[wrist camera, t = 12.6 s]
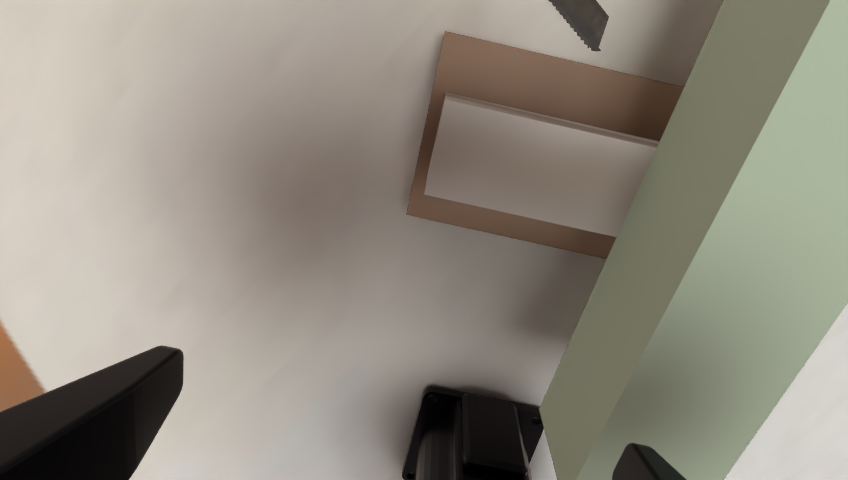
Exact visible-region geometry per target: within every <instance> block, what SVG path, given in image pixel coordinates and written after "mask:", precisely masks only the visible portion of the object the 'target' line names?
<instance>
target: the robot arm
mask: <svg viewBox="0 0 848 480" xmlns="http://www.w3.org/2000/svg"><path fill="white" fill-rule="evenodd" d="M183 358H184V357H183V352H182V351H181V350H180V349H177V348H173V347H168V346H157V347H155V348H152V349H150V350H148V351H145V352H143V353H140V354H138V355H136V356H133V357H131V358H128V359H126V360H124V361H121V362H119V363H116V364H114V365H112V366H109V367H107V368H104V369H102V370H100V371H97V372H95V373H92V374H90V375H88V376H85V377H83V378H80V379H78V380H76V381H73V382H71V383H68V384H66V385H64V386H61V387H59V388H56V389H54V390H52V391H49V392H47V393H44V394H42V395H40V396H37V397H35V398H32V399H30V400H28V401H25V402H23V403H20V404H18V405H16V406H13V407H11V408H8V409H6V410H4V411H1V412H0V480H129V479H130V477H131V476H132V474H133V473H134V471H135V470H136V469H137V467H138V465H139V464H140V462H141V460H142V459H143V457H144V455H145V454H146V452H147V450H148V448H149V447H150V445H151V443H152V442H153V440H154V438H155V436H156V435H157V433H158V431H159V429H160V428H161V426H162V424H163V422H164V421H165V419H166V417H167V416H168V414H169V412H170V410H171V409H172V407H173V405H174V403H175V402H176V400H177V398H178V396H179V394H180V392H181V390H182V386H183ZM431 395H434V396H436V397H435V398H431V397H429V396H431ZM535 417H539V418H538V419H533V418H535ZM543 429H544V426H543V422H542V419H541V415H540V411H539V408H536V407H531V406H526V405H521V404H516V403H512V402H507V401H502V400H497V399H492V398H488V397H483V396H478V395H473V394H468V393H464V392H459V391H454V390H449V389H445V388H440V387H435V386H430V387H427V388H426V389H425V390H424V392H423V395H422V399H421V403H420V407H419V410H418V414H417V418H416V421H415V425H414V429H413V433H412V436H411V440H410V444H409V447H408V451H407V455H406V459H405V462H404V466H403V472H402V477H403V479H404V480H532V477H531V472H530V467H529V463H530V461H531V458H532V456H533V454H534V451H535V449H536V446H537V444H538V441H539V439H540V437H541V434H542V432H543ZM612 480H687V479H685V478H684V477H683V476H682V475H681V474H680V473H679V472H678V471H677V470H676V469H675V468H673V467H672V466H671V465H670V464H669V463H668V462H667V461H666V460H665V459H664V458H663V457H662V456H660V455H659V454H658V453H657V452H656V451H655V450H654V449H653V448H651V447H649V446H647V445H642V444H637V443H629V444H628V445H626V447H625V449H624V451H623V453H622V455H621V457H620V459H619V461H618V463H617V464H616V466H615V468H614V471H613V474H612Z"/></svg>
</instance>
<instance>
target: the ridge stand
mask: <svg viewBox="0 0 848 480" xmlns="http://www.w3.org/2000/svg"><path fill="white" fill-rule="evenodd" d="M683 89H684V87H681V86H677V85H672V84H668V83H664V82H660V81H655V80H651V79H647V78H643V77H638V76H634V75H630V74H625V73H621V72H617V71H613V70H608V69H604V68H600V67H596V66H591V65H587V64H583V63H579V62H574V61H570V60H566V59H562V58H557V57H553V56H549V55H544V54H540V53H536V52H532V51H527V50H523V49H519V48H515V47H510V46H506V45H502V44H498V43H493V42H489V41H485V40H481V39H476V38H472V37H468V36H464V35H459V34H455V33H451V32H446V31H445V34H444V38H443V43H442V48H441V53H440V57H439V62H438V67H437V72H436V76H435V81H434V86H433V90H432V95H431V100H430V105H429V109H428V114H427V119H426V124H425V128H424V133H423V138H422V142H421V147H420V152H419V157H418V161H417V166H416V171H415V176H414V180H413V185H412V190H411V194H410V199H409V204H408V209H407V213H406V215H411V216H415V217H420V218H424V219H429V220H433V221H438V222H442V223H447V224H451V225H456V226H460V227H465V228H469V229H474V230H478V231H483V232H488V233H492V234H497V235H501V236H506V237H510V238H515V239H519V240H524V241H528V242H533V243H537V244H542V245H546V246H551V247H555V248H560V249H565V250H569V251H574V252H578V253H583V254H587V255H592V256H596V257H601V258H605V259H607V257H608V255H609V253H610V251H611V249H612V246H613V244H614V242H615V240H616V237H617V235H618V233H619V231H620V229H621V226H622V224H623V222H624V220H625V217H626V215H627V213H628V211H629V209H630V206H631V204H632V202H633V200H634V198H635V195H636V193H637V191H638V189H639V186H640V184H641V182H642V180H643V178H644V175H645V173H646V171H647V169H648V166H649V164H650V162H651V160H652V158H653V155H654V153H655V151H656V149H657V146H658V144H659V142H660V140H661V138H662V135H663V133H664V131H665V129H666V127H667V124H668V122H669V120H670V118H671V115H672V113H673V111H674V109H675V107H676V104H677V102H678V100H679V98H680V95H681V93H682V91H683Z"/></svg>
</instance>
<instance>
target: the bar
mask: <svg viewBox="0 0 848 480" xmlns="http://www.w3.org/2000/svg"><path fill="white" fill-rule="evenodd" d="M847 303H848V0H723V2H722V5H721V7H720V9H719V11H718V13H717V16H716V18H715V20H714V22H713V24H712V27H711V29H710V31H709V33H708V36H707V38H706V40H705V42H704V44H703V47H702V49H701V51H700V53H699V56H698V58H697V60H696V62H695V64H694V67H693V69H692V71H691V73H690V76H689V78H688V80H687V82H686V84H685V87H684V89H683V91H682V93H681V95H680V98H679V100H678V102H677V104H676V107H675V109H674V111H673V113H672V115H671V118H670V120H669V122H668V124H667V127H666V129H665V131H664V133H663V135H662V138H661V140H660V142H659V144H658V146H657V149H656V151H655V153H654V155H653V158H652V160H651V162H650V164H649V166H648V169H647V171H646V173H645V175H644V178H643V180H642V182H641V184H640V186H639V189H638V191H637V193H636V195H635V198H634V200H633V202H632V204H631V206H630V209H629V211H628V213H627V215H626V217H625V220H624V222H623V224H622V226H621V229H620V231H619V233H618V235H617V237H616V240H615V242H614V244H613V246H612V249H611V251H610V253H609V255H608V257H607V260H606V262H605V264H604V266H603V269H602V271H601V273H600V275H599V277H598V280H597V282H596V284H595V286H594V288H593V291H592V293H591V295H590V297H589V300H588V302H587V304H586V306H585V308H584V311H583V313H582V315H581V317H580V320H579V322H578V324H577V326H576V328H575V331H574V333H573V335H572V337H571V339H570V342H569V344H568V346H567V348H566V351H565V353H564V355H563V357H562V359H561V362H560V364H559V366H558V368H557V371H556V373H555V375H554V377H553V379H552V382H551V384H550V386H549V388H548V391H547V393H546V395H545V397H544V399H543V402H542V404H541V406H540V408H539V411H540V415H541V419H542V422H543V426H544V430H545V434H546V438H547V441H548V445H549V449H550V453H551V457H552V461H553V464H554V468H555V472H556V476H557V480H612V474H613V471H614V468H615V466H616V464H617V463H618V461H619V459H620V457H621V455H622V453H623V451H624V449H625V447H626V445H628V444H629V443H637V444H642V445H647V446H649V447H651V448H653V449H654V450H655V451H656V452H657V453H658V454H659V455H660V456H662V457H663V458H664V459H665V460H666V461H667V462H668V463H669V464H670V465H671V466H672V467H673V468H675V469H676V470H677V471H678V472H679V473H680V474H681V475H682V476H683V477H684V478H685V479H687V480H724V478H725V477H726V476H727V474H728V473H729V471H730V470H731V469H732V467H733V466H734V464H735V463H736V461H737V460H738V459H739V457H740V456H741V454H742V453H743V451H744V450H745V449H746V447H747V446H748V444H749V443H750V441H751V440H752V439H753V437H754V436H755V434H756V433H757V431H758V430H759V429H760V427H761V426H762V424H763V423H764V421H765V420H766V419H767V417H768V416H769V414H770V413H771V412H772V410H773V409H774V407H775V406H776V404H777V403H778V402H779V400H780V399H781V397H782V396H783V394H784V393H785V392H786V390H787V389H788V387H789V386H790V384H791V383H792V382H793V380H794V379H795V377H796V376H797V374H798V373H799V372H800V370H801V369H802V367H803V366H804V364H805V363H806V362H807V360H808V359H809V357H810V356H811V355H812V353H813V352H814V350H815V349H816V347H817V346H818V345H819V343H820V342H821V340H822V339H823V337H824V336H825V335H826V333H827V332H828V330H829V329H830V327H831V326H832V325H833V323H834V322H835V320H836V319H837V317H838V316H839V315H840V313H841V312H842V310H843V309H844V307H845V306H846V305H847Z"/></svg>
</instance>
